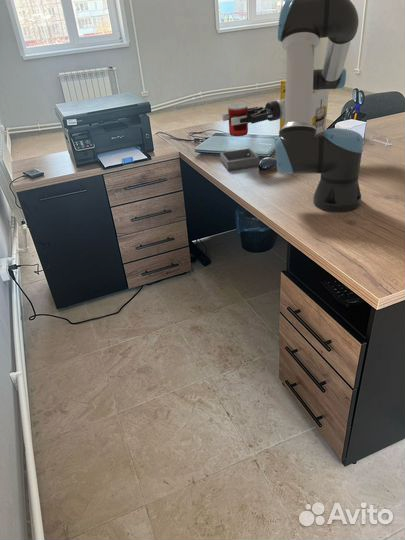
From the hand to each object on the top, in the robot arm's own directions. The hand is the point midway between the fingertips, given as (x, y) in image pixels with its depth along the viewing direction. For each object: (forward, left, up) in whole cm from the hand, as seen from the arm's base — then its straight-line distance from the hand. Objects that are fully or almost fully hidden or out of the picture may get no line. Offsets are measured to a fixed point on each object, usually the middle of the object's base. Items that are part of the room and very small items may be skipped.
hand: (227, 119), depth 161 cm
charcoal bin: (+1, -5, -19) cm, 20 cm away
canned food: (+1, -5, -7) cm, 8 cm away
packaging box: (+33, -47, -19) cm, 60 cm away
